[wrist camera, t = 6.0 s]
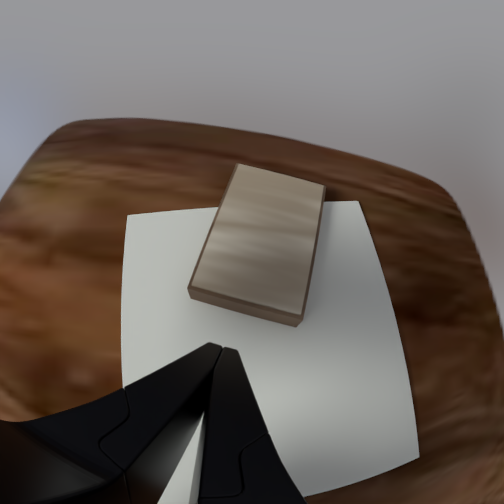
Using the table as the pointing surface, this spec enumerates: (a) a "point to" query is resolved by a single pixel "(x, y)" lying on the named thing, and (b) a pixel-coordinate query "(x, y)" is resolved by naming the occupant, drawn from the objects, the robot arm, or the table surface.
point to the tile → (261, 246)
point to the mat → (282, 348)
